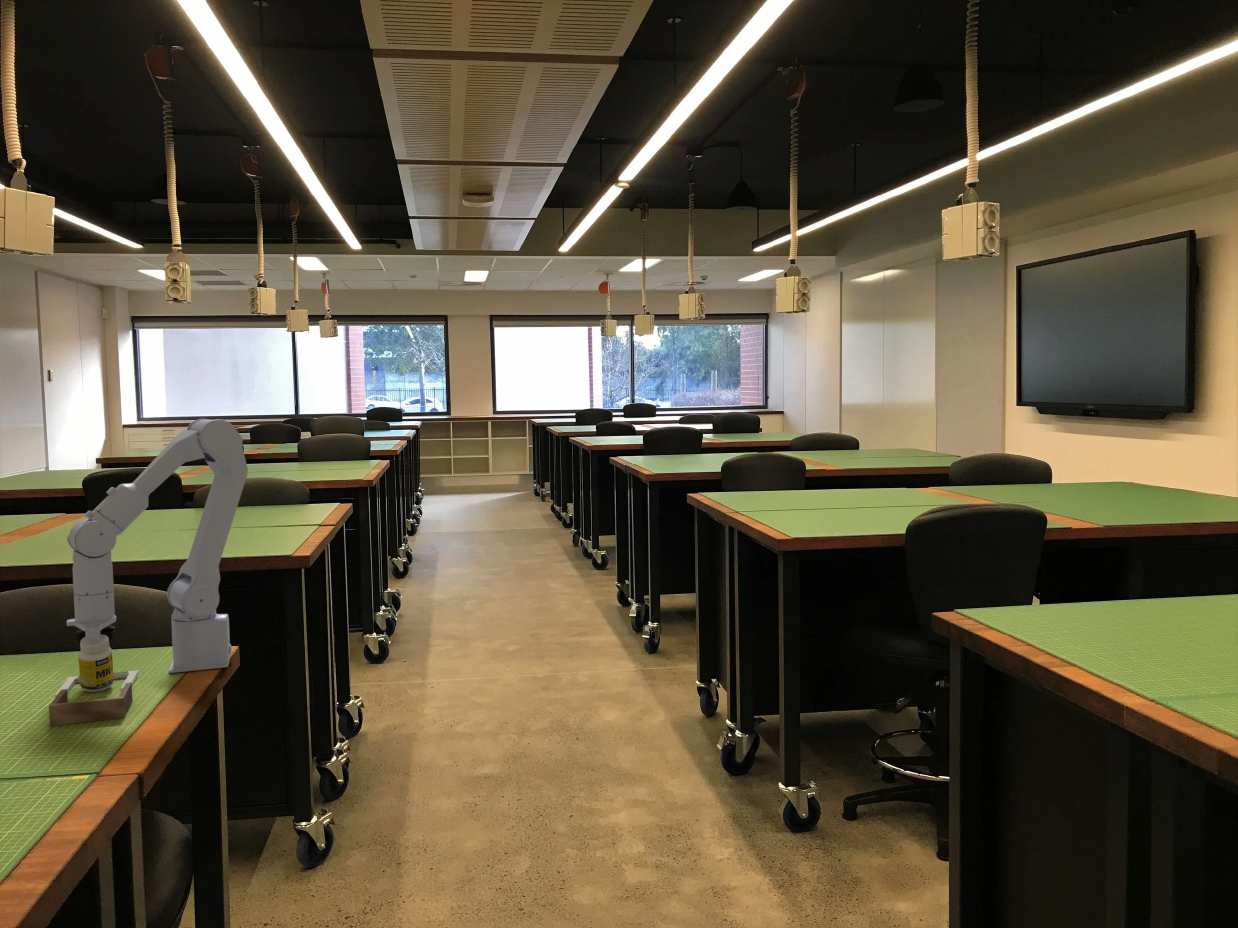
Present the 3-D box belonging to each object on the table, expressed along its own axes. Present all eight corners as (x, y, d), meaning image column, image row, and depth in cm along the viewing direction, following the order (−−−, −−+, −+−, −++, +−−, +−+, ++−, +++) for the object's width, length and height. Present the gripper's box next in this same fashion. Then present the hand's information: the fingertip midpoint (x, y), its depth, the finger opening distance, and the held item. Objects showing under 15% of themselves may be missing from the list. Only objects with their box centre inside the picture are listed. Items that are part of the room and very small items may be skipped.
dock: (138, 674, 154) (138, 669, 153) (129, 691, 144) (129, 686, 144) (68, 681, 150) (68, 676, 150) (55, 699, 141) (55, 694, 141)
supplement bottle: (99, 695, 144) (95, 650, 141) (73, 689, 144) (69, 643, 142) (120, 680, 148) (117, 635, 145) (95, 674, 149) (92, 629, 146)
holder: (132, 700, 140) (131, 682, 140) (124, 717, 133) (123, 697, 133) (62, 708, 137) (61, 689, 137) (49, 726, 130) (48, 705, 129)
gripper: (69, 586, 152) (72, 664, 153) (61, 603, 139) (65, 688, 140) (116, 582, 155) (119, 658, 156) (113, 598, 142) (116, 681, 143)
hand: (97, 672), depth 148 cm, fingers closed
